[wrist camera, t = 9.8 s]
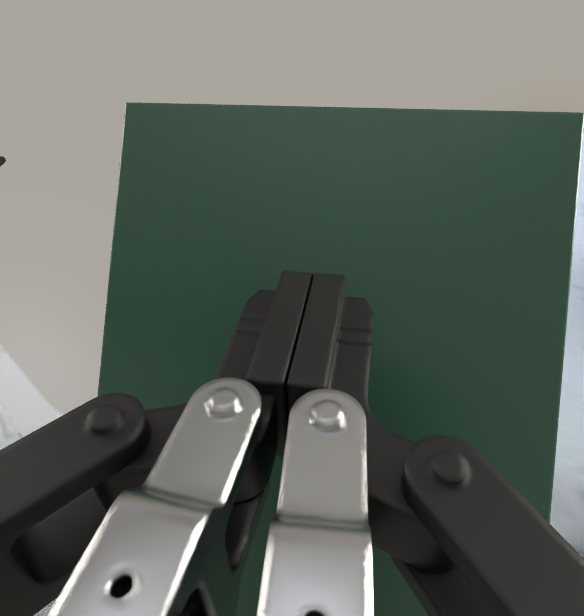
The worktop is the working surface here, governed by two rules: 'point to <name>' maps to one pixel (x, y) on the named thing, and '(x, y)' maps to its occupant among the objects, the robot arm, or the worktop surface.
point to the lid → (357, 268)
